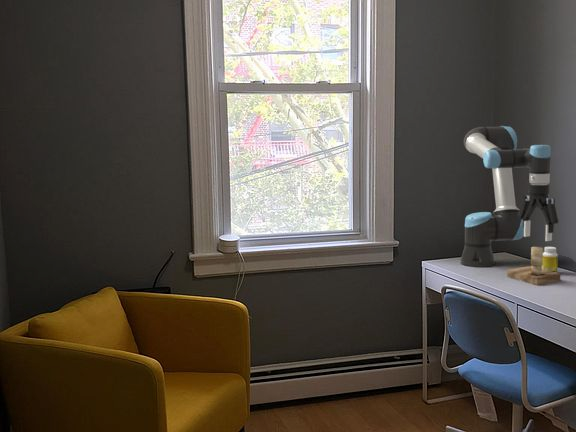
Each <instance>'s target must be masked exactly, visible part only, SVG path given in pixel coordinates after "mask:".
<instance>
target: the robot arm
mask: <svg viewBox="0 0 576 432" xmlns="http://www.w3.org/2000/svg"><path fill="white" fill-rule="evenodd" d="M463 145H464V147H465V150H467V151H468V152H469V153H472V154H475V155H477V156H478V157H480V158H481V159H483V165H484V167H485V168H486V169H492V170H491V171H492V179H493V180H492V181H493V188H494V189H493V190H494V199H495V210H494V211H493V212H488V211H481V212H474V213H473V212H472V213H470V214H468V215H466V217H465V219H464V248H463V251H462V254H461V256H460V264H461V265H464V266H467V267H475V268H483V267H484V268H485V267H486V268H487V267H492V266H494V265H495V264H496V262H495V257H494V253H493V249H492V242H494V241H495V242H498V241H515V240H516V241H517V240H521V239H523V237H524V238H527V237H531V219H530V218H531V216H532V214H533V213H534V211H535V209H537V208H539V209H540V210H541V212H542V215H543V216H544V218H545V221H546V224H545V237H544V239H545V240H544V241H545V242H551V241H552V240H553V233H554V226H555V225H556V224H559V220H558V214H557V210H556V205H555V203H556V199H555V198H549V193H550V180H551V178H550V177H551V175H550V171H551V156H552V154H551V145H549V144H534V145H531V146H530V148H529V147H528V148H521V149H520V148H517V146H518V136H517V132H515V130H514V129H513V128H512V127H511V126H504V125H500V126H479V127H475V128H473V129H471V130H469V131H467V133H466V134H465V135H464V138H463ZM516 168H517V169H519V168H529V177H528V178H529V180H528V181H529V185H528V194H529V195H524V196H523V197H522V198H523V201H522V204H521V205H522V206H521V209H519V208H518V207H517V206H516V204H517V203H516V197H515V196H516V195H515V188H514V187H515V186H514V178H513V169H516Z"/></svg>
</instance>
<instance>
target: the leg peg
mask: <svg viewBox="0 0 576 432" xmlns="http://www.w3.org/2000/svg"><path fill="white" fill-rule="evenodd" d="M530 250H531V251H530V266H532V269H531V275H534V276H541V271H542V265H543V253H544V248H543V246H532V247H530Z"/></svg>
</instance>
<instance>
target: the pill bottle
mask: <svg viewBox="0 0 576 432" xmlns="http://www.w3.org/2000/svg"><path fill="white" fill-rule="evenodd" d="M558 261H559V255H558V253H557V247H556V246H555V247H554V246H544V248H543V265H542V269H544V270H548V271H552V272H555V273H558V265H559V262H558Z"/></svg>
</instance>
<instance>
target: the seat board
mask: <svg viewBox="0 0 576 432" xmlns="http://www.w3.org/2000/svg"><path fill="white" fill-rule="evenodd" d="M531 269H532V265H527V266H522V267H516V268H510V269H506V270H507V271H506V277H507V278H509V277H510V279H513V280H516V279H517V280H516V281H520V280H521V281H520V282H523V281H524V283H527V284H531V285H534V286H541V285H547V284H550V283H556V282H557V283H558V282H561V273H559V272H557V273H555V272H552V271H548V270H544V269H542V271H541V276H534V275H531Z"/></svg>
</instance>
